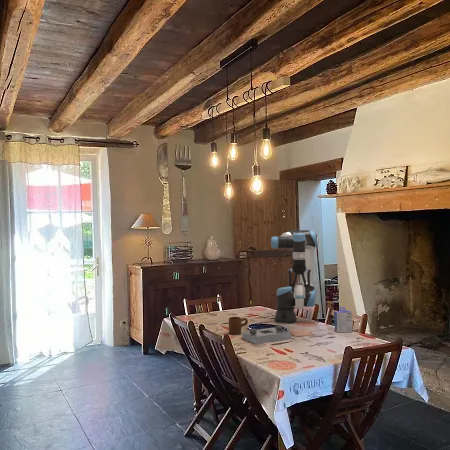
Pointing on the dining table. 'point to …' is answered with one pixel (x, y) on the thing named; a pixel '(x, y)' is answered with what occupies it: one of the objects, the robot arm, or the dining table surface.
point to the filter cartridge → (299, 296)
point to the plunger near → (253, 331)
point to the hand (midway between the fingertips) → (299, 297)
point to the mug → (236, 325)
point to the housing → (266, 335)
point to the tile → (300, 333)
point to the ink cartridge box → (343, 320)
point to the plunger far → (279, 327)
